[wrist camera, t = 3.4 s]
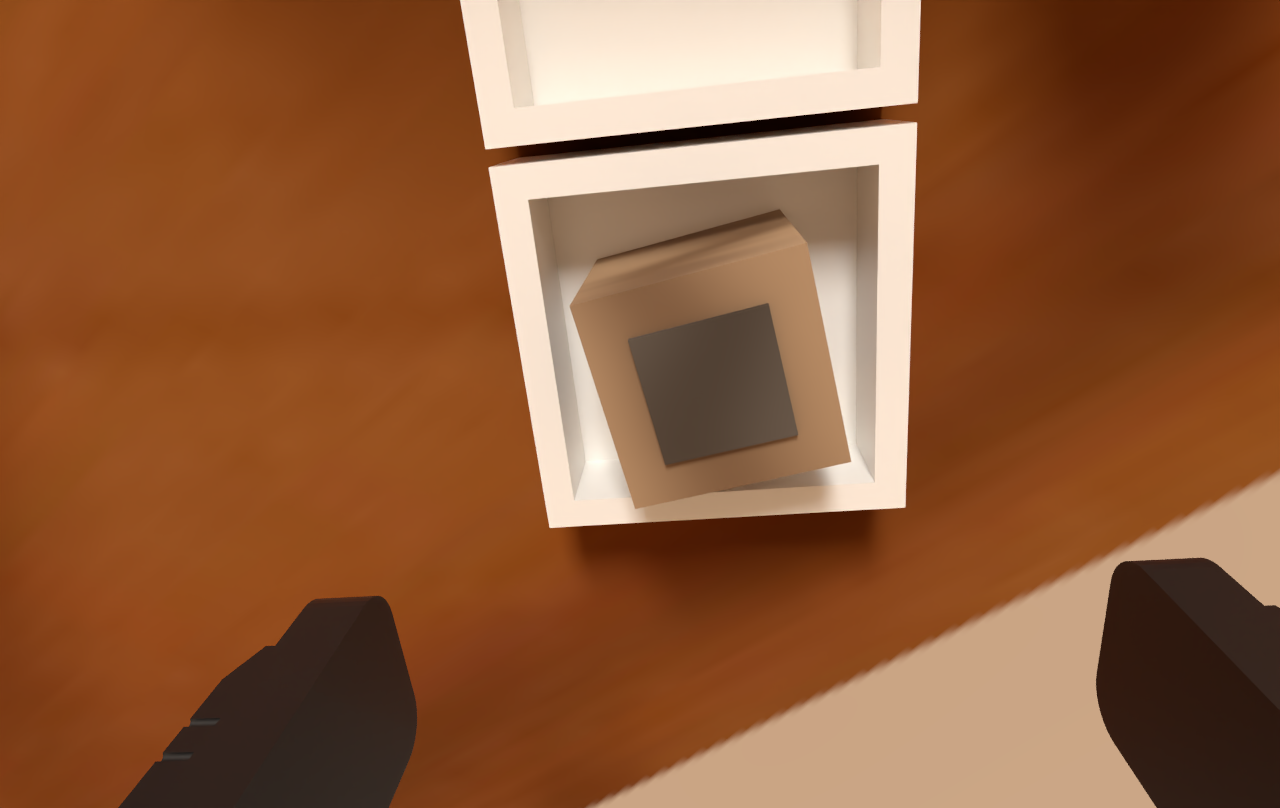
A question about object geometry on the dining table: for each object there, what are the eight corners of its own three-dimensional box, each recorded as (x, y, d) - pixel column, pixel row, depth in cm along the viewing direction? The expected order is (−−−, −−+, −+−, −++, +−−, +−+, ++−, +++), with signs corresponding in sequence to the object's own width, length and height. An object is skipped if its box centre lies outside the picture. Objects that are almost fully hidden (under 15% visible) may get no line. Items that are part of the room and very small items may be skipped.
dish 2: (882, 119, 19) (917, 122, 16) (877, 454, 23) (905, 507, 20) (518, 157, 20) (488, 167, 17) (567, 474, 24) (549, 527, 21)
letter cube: (779, 209, 20) (808, 244, 15) (816, 383, 21) (852, 464, 17) (591, 261, 20) (561, 310, 16) (642, 424, 22) (628, 513, 17)
